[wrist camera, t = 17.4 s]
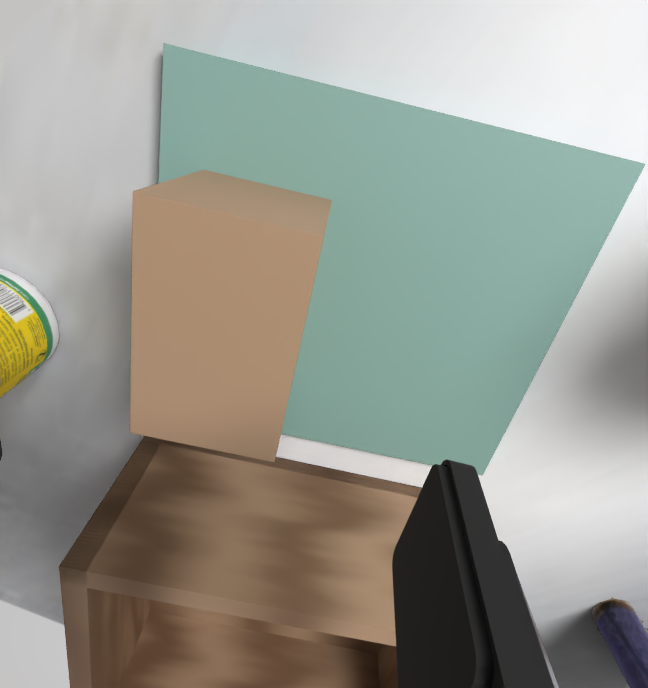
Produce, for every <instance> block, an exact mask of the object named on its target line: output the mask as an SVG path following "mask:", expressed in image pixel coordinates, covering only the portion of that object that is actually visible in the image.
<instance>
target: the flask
mask: <svg viewBox="0 0 648 688" xmlns="http://www.w3.org/2000/svg"><path fill="white" fill-rule="evenodd" d="M592 614H593V621H594V622H595V624H596V625H597V628H598V630H599V631H600V632H601V635H602V636H603V638H604V639H605V641H606V642H607V644H608V646H609V648H610V649H611V651H612V653H613V656H614V658H615V660H616V662H617V664H618V666H619V668H620V670H621V672H622V674H623V676H624V678H625V679H626V681H627V683H628V685H629V687H630V688H648V629H645V628H644V627H643V625H642V622H643V621H640V620H639V618H638V617H637V615H636V614H635V612H634V609H633V608H632V607H631V606H630V604H629V602H625V601H621V600H616V599H614V598H612V599H611V600H607V601H604V602H600V603H599V604H598V605H596V606H595V607H593V612H592Z"/></svg>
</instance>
